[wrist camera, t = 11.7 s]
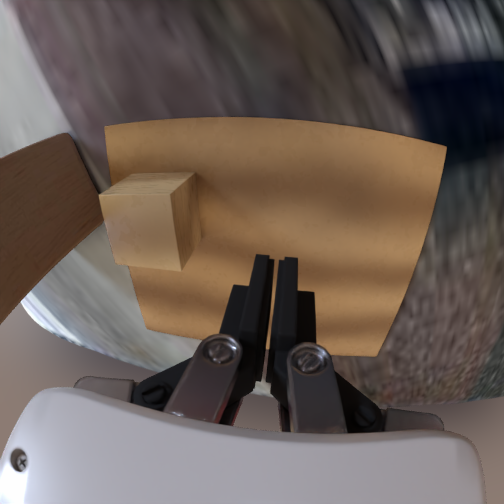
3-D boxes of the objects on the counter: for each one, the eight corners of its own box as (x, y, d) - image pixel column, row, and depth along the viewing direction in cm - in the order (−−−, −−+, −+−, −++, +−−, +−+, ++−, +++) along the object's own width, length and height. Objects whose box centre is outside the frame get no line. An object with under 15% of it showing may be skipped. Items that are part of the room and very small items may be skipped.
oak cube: (131, 173, 22) (98, 195, 18) (195, 172, 22) (170, 194, 17) (142, 234, 25) (115, 264, 21) (201, 238, 25) (181, 271, 20)
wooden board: (105, 126, 20) (104, 126, 20) (445, 146, 17) (447, 147, 17) (147, 327, 33) (146, 329, 33) (375, 355, 30) (376, 356, 30)
